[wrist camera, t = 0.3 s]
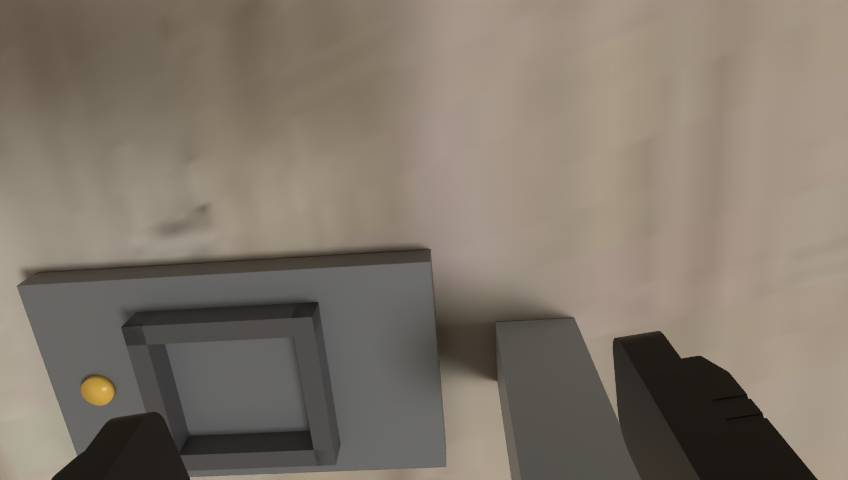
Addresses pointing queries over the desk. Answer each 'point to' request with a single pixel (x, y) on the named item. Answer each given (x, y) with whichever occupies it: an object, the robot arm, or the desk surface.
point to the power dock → (253, 359)
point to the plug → (556, 405)
